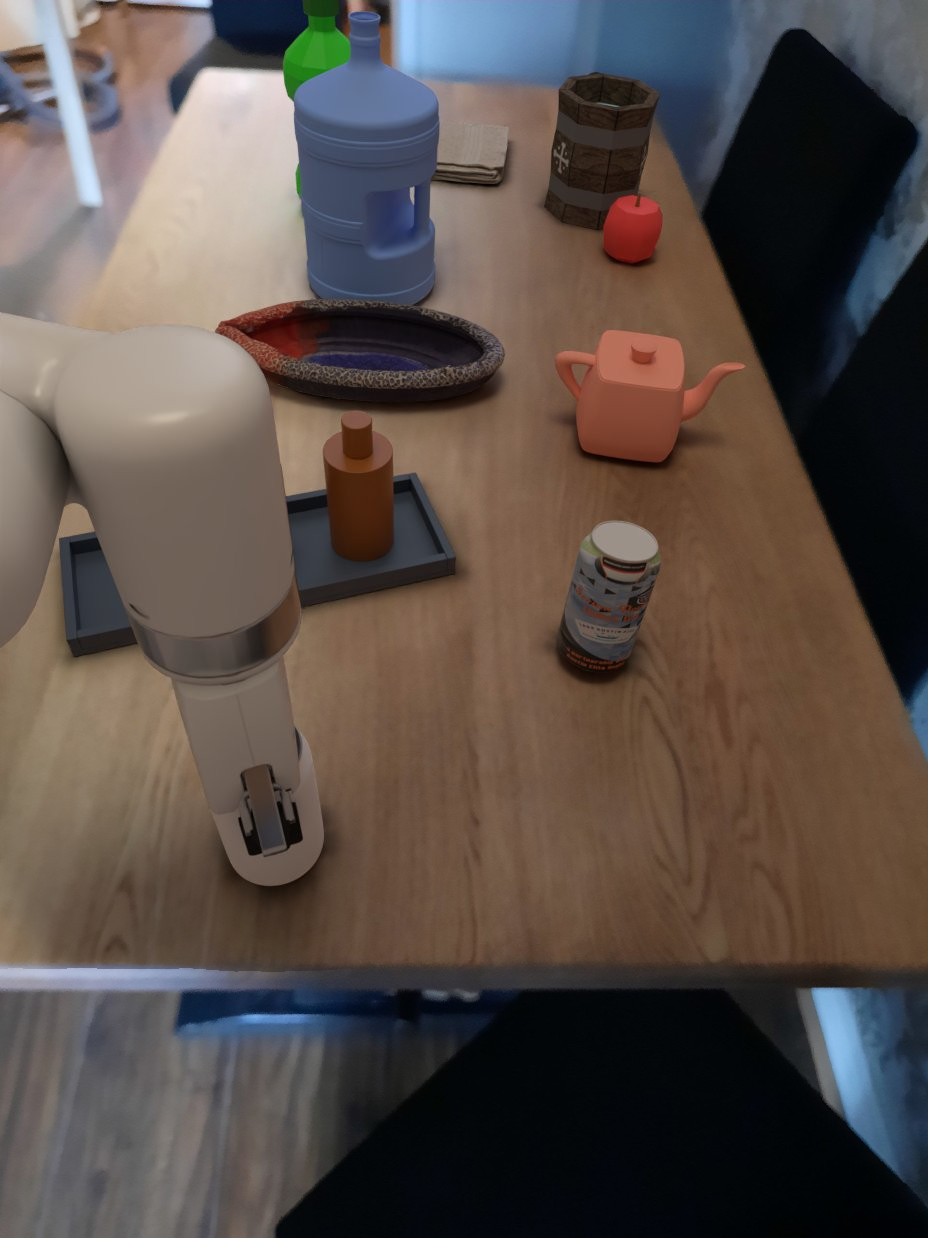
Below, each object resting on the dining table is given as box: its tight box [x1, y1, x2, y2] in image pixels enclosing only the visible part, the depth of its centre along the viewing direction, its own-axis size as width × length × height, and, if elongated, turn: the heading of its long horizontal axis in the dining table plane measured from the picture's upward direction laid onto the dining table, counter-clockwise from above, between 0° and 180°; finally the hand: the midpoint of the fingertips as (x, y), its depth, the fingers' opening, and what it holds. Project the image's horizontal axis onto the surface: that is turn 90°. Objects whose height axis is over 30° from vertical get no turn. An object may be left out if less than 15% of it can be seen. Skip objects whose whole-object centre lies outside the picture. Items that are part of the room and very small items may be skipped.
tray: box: [58, 472, 457, 657], centre depth 73 cm, size 32×12×2 cm, turn 109°
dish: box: [214, 298, 506, 403], centre depth 92 cm, size 16×31×5 cm, turn 84°
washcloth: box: [431, 121, 510, 185], centre depth 130 cm, size 12×18×3 cm, turn 176°
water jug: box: [293, 10, 441, 306], centre depth 95 cm, size 16×16×28 cm
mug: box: [543, 71, 661, 231], centre depth 119 cm, size 20×14×15 cm
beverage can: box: [556, 520, 662, 674], centre depth 66 cm, size 6×7×12 cm
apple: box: [602, 193, 664, 265], centre depth 111 cm, size 8×8×8 cm
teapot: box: [554, 329, 746, 463], centre depth 85 cm, size 12×18×10 cm, turn 81°
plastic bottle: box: [282, 0, 351, 201], centre depth 108 cm, size 10×10×25 cm
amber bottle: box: [322, 410, 394, 562], centre depth 71 cm, size 6×6×13 cm
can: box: [210, 723, 325, 887], centre depth 53 cm, size 6×6×12 cm
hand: (263, 791), depth 52 cm, fingers closed on can, 6 cm apart
